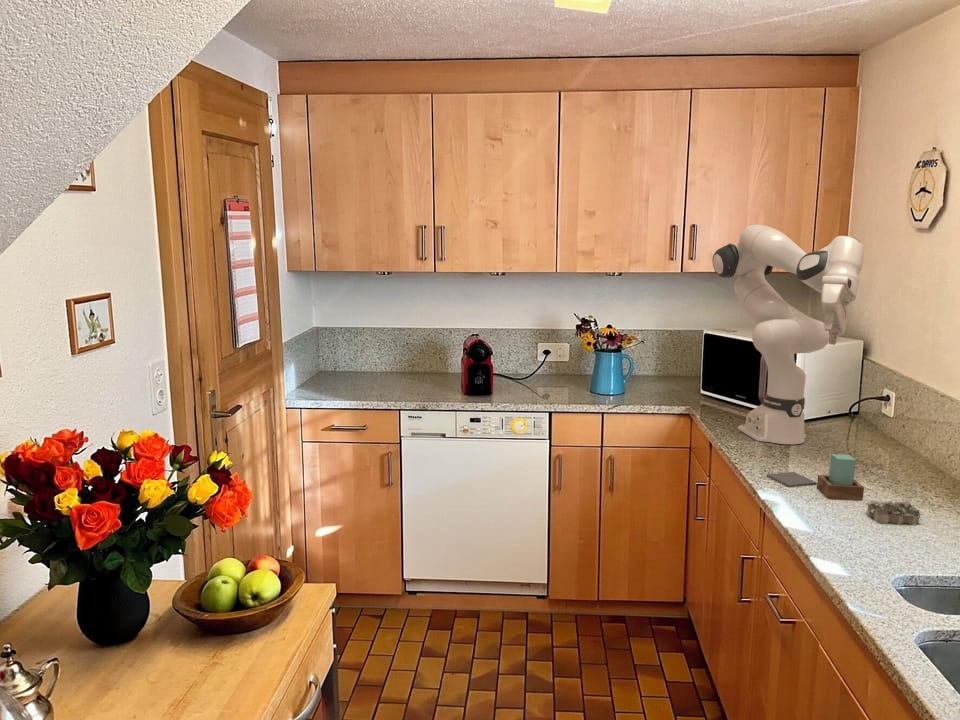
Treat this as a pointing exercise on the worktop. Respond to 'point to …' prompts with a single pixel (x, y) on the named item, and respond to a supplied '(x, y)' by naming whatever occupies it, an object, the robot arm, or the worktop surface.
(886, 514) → the egg carton
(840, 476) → the teal block
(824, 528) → the worktop surface
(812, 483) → the rubber mat
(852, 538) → the worktop surface
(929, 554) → the worktop surface
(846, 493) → the pocket holder
